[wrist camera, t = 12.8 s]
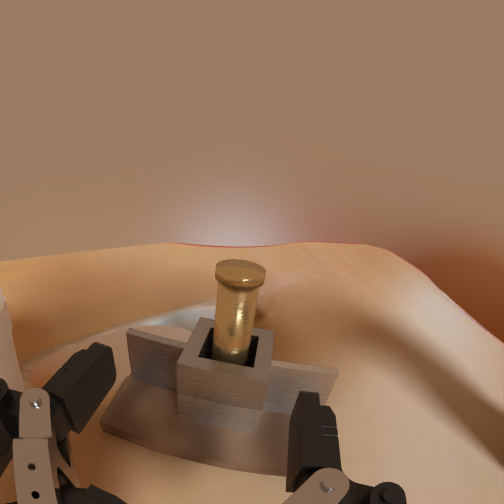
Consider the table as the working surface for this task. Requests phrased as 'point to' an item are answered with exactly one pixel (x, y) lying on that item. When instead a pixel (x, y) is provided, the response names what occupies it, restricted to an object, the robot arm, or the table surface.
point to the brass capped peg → (235, 309)
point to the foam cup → (8, 350)
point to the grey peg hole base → (195, 432)
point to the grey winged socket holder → (224, 377)
